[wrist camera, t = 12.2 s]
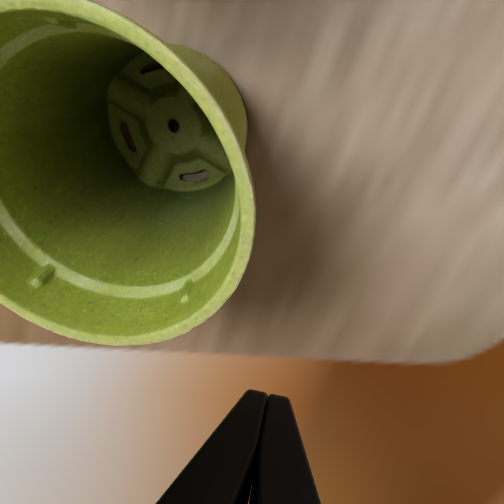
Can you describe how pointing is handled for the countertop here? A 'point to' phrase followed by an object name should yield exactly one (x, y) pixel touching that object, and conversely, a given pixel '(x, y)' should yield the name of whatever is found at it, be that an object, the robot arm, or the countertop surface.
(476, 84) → the countertop surface
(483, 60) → the countertop surface
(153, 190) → the plant pot
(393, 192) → the countertop surface
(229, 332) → the countertop surface
